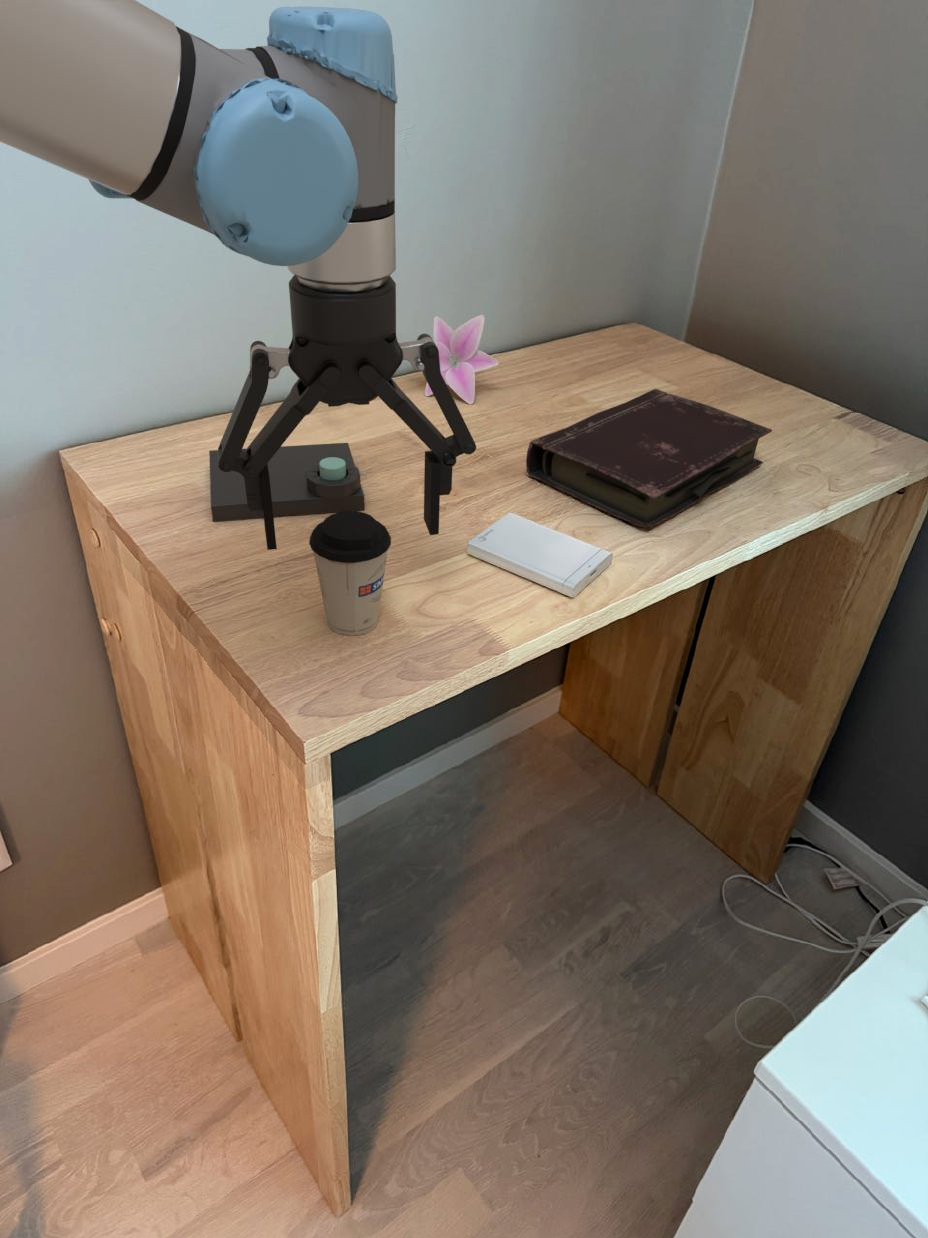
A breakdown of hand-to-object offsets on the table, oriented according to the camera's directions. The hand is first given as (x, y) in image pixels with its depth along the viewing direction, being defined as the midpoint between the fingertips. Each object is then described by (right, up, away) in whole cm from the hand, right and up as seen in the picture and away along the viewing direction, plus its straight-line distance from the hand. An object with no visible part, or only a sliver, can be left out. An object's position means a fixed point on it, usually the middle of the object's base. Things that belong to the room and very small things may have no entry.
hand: (352, 534), depth 75 cm
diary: (+32, +11, +32) cm, 46 cm away
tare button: (-5, +8, +21) cm, 23 cm away
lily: (+8, +25, +49) cm, 56 cm away
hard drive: (+17, -1, +15) cm, 23 cm away
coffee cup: (-1, -7, +5) cm, 9 cm away
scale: (-11, +8, +25) cm, 28 cm away
